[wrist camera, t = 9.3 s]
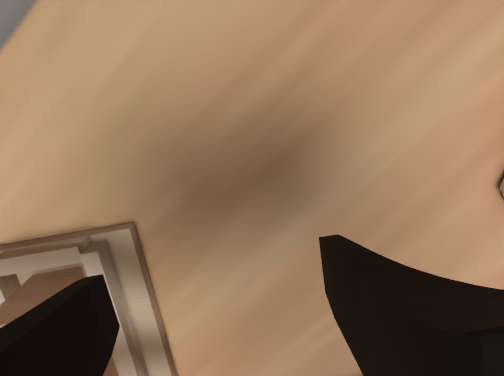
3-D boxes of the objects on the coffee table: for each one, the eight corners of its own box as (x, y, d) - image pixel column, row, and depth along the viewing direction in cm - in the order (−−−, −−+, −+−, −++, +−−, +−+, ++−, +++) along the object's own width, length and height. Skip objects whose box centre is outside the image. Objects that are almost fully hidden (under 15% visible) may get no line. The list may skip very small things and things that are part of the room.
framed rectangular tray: (188, 415, 26) (183, 448, 24) (58, 437, 26) (40, 473, 24) (134, 222, 22) (121, 239, 19) (-24, 248, 22) (-56, 269, 19)
